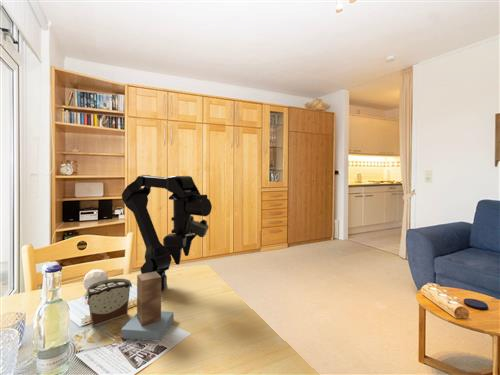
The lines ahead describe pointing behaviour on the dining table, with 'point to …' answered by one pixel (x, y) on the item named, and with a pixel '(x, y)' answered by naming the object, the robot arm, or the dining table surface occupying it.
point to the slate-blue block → (147, 328)
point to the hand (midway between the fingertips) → (182, 259)
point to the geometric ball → (94, 277)
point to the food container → (108, 300)
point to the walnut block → (148, 298)
